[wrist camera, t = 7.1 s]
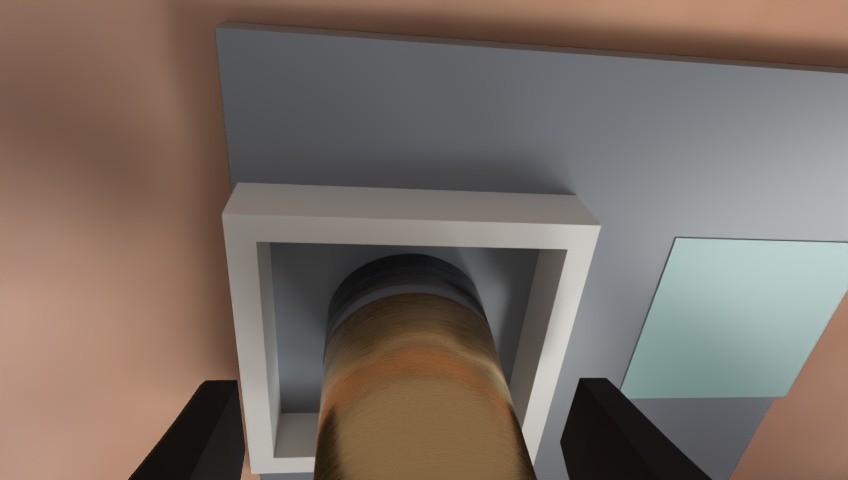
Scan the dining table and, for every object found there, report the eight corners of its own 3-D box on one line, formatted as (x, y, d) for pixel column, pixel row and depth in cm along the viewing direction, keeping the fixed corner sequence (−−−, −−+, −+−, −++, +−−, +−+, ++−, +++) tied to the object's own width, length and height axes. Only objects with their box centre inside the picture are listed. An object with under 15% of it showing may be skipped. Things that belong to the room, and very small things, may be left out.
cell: (493, 255, 13) (591, 502, 7) (471, 376, 15) (536, 644, 9) (327, 251, 13) (297, 511, 7) (326, 377, 15) (304, 660, 9)
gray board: (932, 74, 13) (1037, 100, 11) (721, 461, 20) (762, 521, 18) (224, 21, 11) (192, 42, 9) (266, 474, 18) (254, 544, 16)
